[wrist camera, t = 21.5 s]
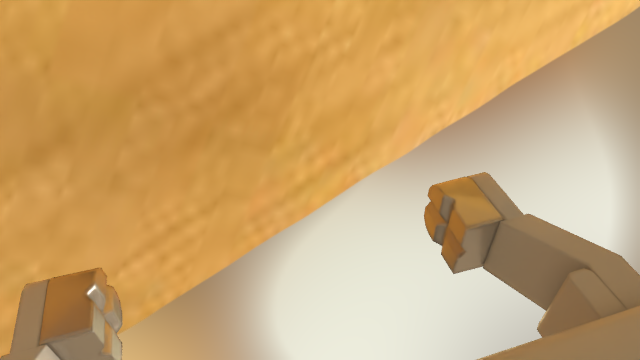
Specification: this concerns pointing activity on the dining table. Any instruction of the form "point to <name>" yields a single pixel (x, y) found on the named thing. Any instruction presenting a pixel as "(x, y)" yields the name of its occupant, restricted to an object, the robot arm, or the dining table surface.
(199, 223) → the dining table surface
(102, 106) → the dining table surface
